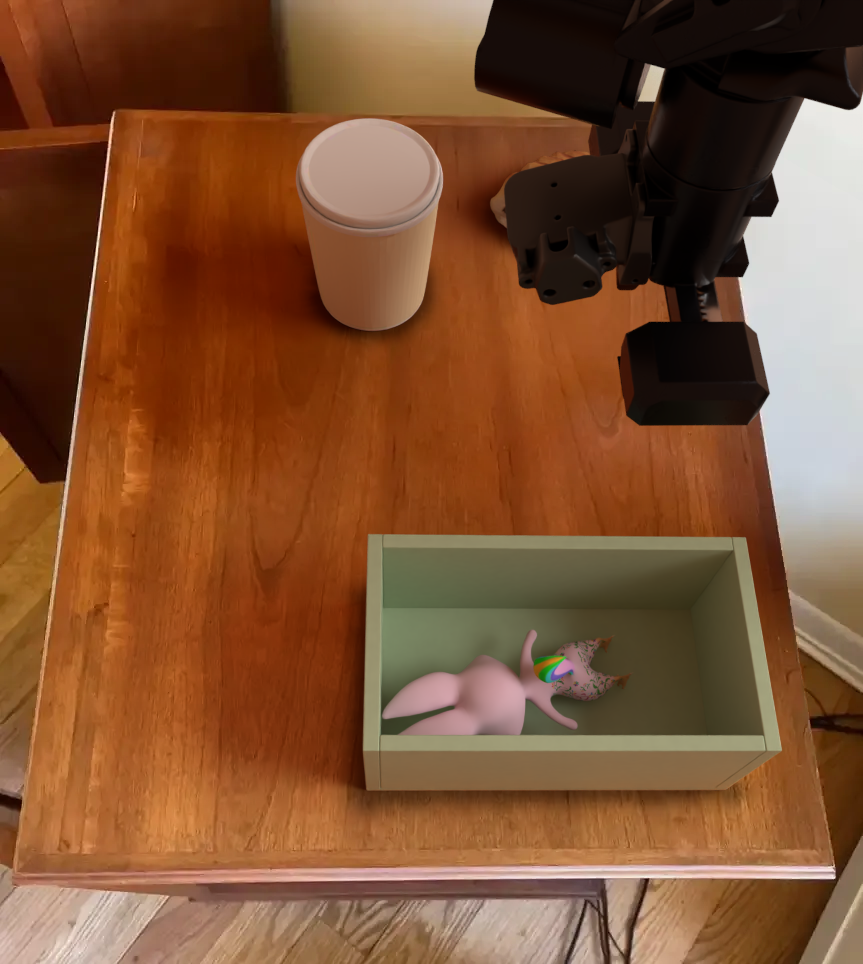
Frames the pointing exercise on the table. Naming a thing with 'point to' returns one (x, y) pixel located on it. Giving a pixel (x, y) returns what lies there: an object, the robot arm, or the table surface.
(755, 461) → the table surface
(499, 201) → the pastry
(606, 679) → the rabbit figure
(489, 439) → the table surface
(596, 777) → the bin
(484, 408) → the table surface
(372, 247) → the coffee cup
